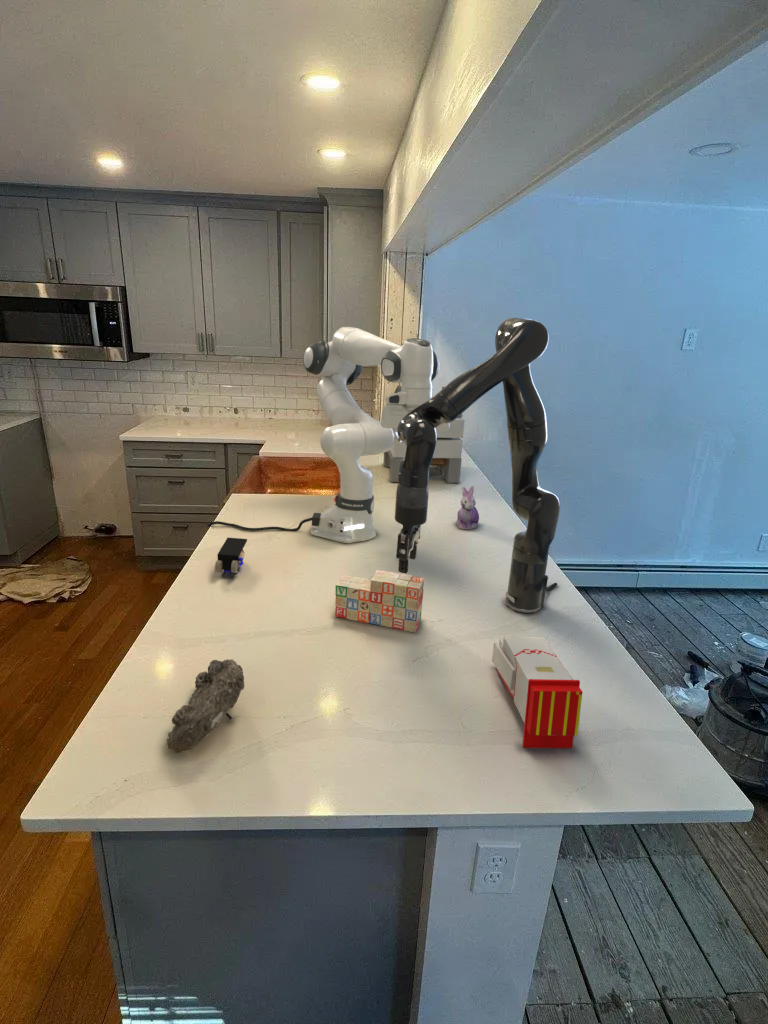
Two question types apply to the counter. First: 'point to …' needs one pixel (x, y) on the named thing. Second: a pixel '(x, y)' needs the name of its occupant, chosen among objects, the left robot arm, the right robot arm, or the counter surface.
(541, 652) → the toy
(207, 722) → the fossil
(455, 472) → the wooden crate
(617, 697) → the counter surface
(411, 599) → the stack of blocks
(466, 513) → the figurine
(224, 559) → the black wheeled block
